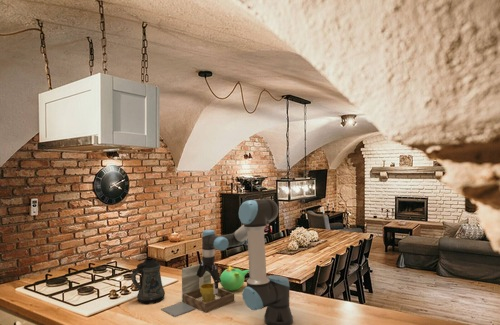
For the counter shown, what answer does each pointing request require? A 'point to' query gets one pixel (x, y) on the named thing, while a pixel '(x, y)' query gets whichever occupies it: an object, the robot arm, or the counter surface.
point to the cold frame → (193, 291)
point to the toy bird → (232, 278)
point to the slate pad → (178, 309)
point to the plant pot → (207, 292)
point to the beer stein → (149, 282)
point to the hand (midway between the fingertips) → (208, 290)
